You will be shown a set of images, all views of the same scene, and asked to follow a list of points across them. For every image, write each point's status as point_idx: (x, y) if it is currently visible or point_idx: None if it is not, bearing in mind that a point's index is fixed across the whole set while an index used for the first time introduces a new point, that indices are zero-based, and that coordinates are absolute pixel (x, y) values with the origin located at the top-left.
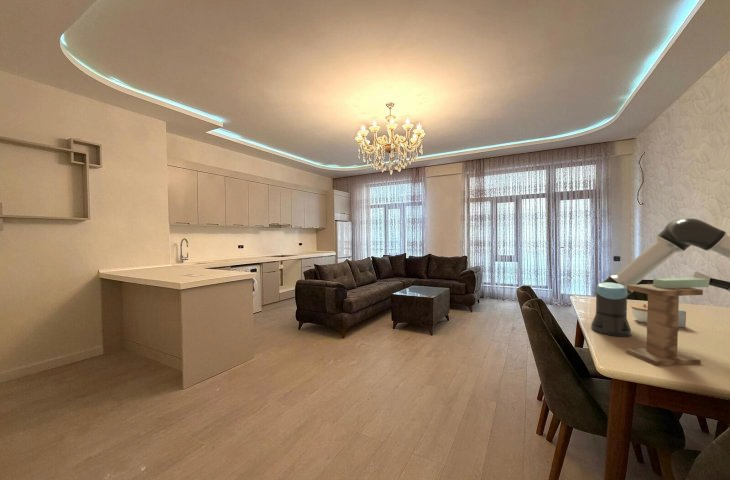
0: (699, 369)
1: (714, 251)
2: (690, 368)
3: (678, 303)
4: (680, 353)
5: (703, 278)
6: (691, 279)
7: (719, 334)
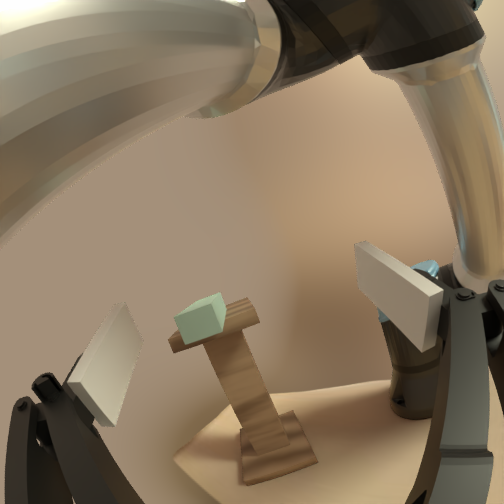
0: (224, 471)
1: (223, 94)
2: (229, 463)
3: (209, 358)
4: (276, 467)
5: (388, 303)
6: (190, 307)
7: None
